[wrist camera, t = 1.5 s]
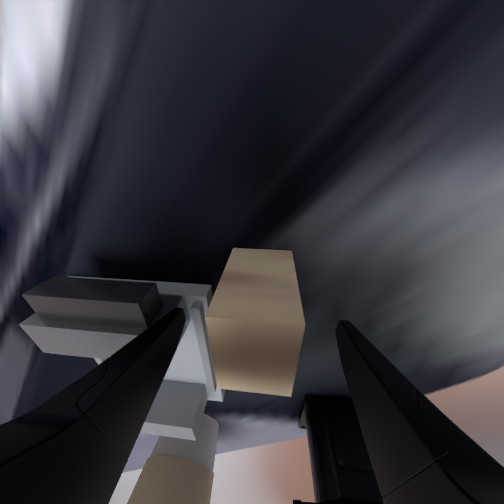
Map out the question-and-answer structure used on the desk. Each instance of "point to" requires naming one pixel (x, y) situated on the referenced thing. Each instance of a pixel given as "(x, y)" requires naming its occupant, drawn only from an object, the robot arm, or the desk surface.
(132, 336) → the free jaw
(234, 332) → the maple block
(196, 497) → the coffee cup
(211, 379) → the vise bed
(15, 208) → the desk surface
